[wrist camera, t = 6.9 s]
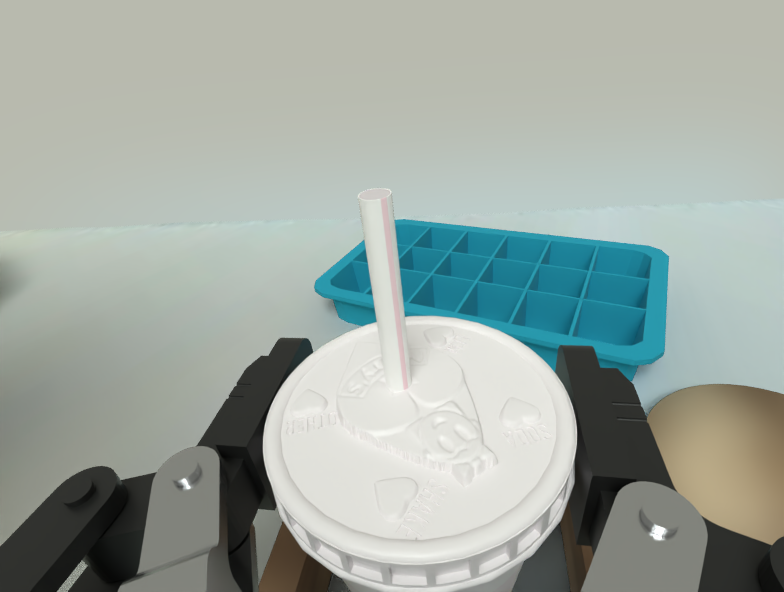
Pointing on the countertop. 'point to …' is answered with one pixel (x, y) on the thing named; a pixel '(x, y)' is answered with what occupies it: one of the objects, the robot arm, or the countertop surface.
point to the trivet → (726, 454)
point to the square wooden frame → (311, 579)
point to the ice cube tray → (522, 288)
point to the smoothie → (419, 444)
